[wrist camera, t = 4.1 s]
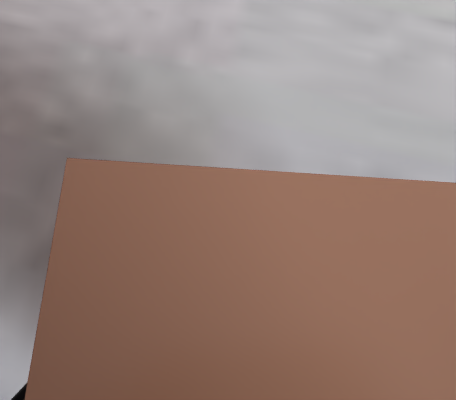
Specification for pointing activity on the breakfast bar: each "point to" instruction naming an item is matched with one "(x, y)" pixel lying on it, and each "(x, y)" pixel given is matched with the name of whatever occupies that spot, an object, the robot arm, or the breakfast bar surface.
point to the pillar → (246, 286)
